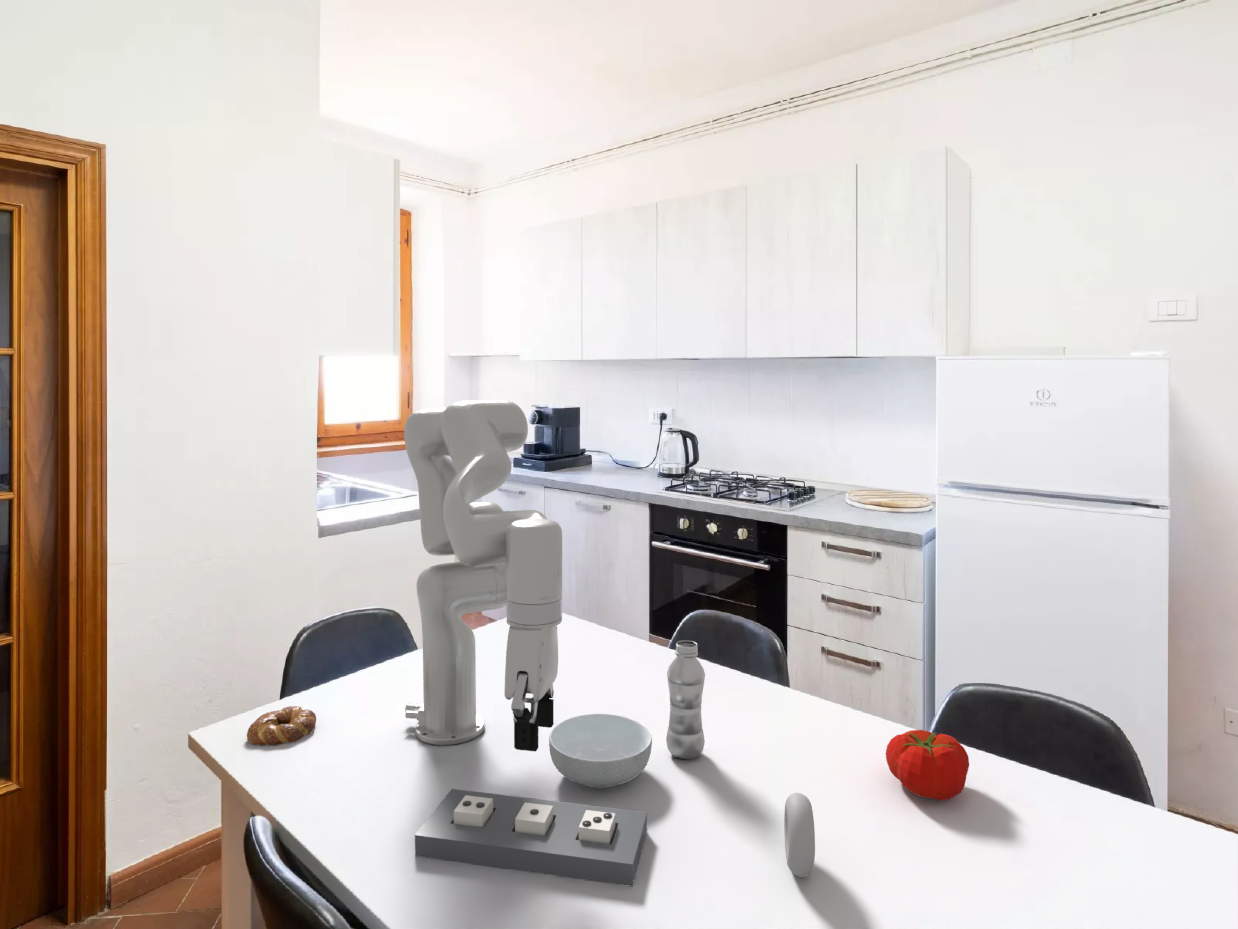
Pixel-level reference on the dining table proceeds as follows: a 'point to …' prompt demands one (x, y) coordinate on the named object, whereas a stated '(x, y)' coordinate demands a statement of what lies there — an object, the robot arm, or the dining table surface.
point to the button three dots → (597, 827)
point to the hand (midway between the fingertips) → (534, 736)
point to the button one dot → (534, 819)
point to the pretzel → (282, 726)
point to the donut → (799, 834)
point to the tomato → (928, 763)
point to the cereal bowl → (600, 749)
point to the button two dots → (473, 811)
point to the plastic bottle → (685, 702)
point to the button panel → (535, 840)
